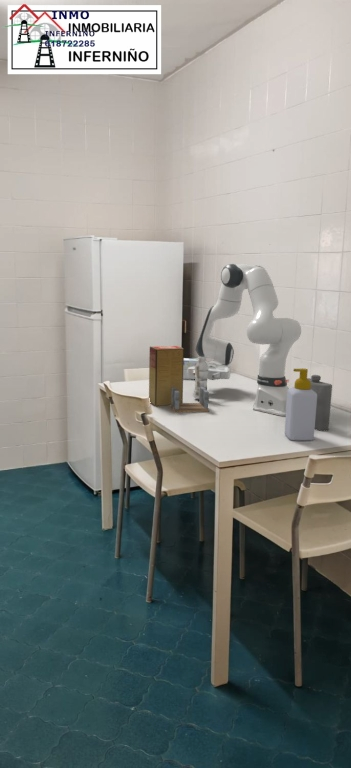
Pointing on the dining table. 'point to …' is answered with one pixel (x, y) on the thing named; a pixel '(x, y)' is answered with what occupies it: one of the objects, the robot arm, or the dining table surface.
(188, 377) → the light bulb box
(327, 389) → the flask
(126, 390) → the dining table surface
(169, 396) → the food packaging
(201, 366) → the plastic bottle
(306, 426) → the soap bottle
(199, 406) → the bookend shelf
